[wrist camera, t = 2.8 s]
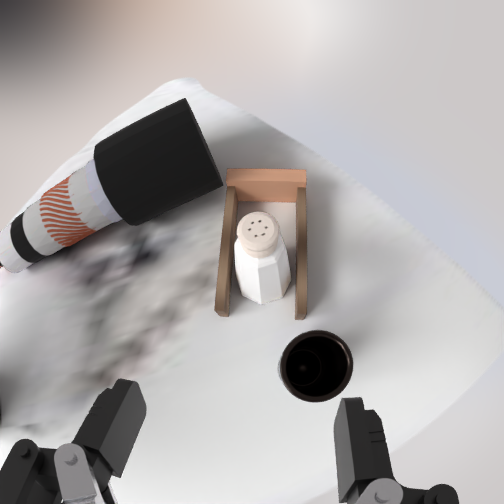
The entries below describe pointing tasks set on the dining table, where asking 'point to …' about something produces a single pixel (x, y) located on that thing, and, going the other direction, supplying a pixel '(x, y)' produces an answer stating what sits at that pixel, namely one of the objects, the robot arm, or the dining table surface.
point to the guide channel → (263, 190)
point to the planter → (316, 366)
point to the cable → (117, 186)
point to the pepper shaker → (261, 258)
